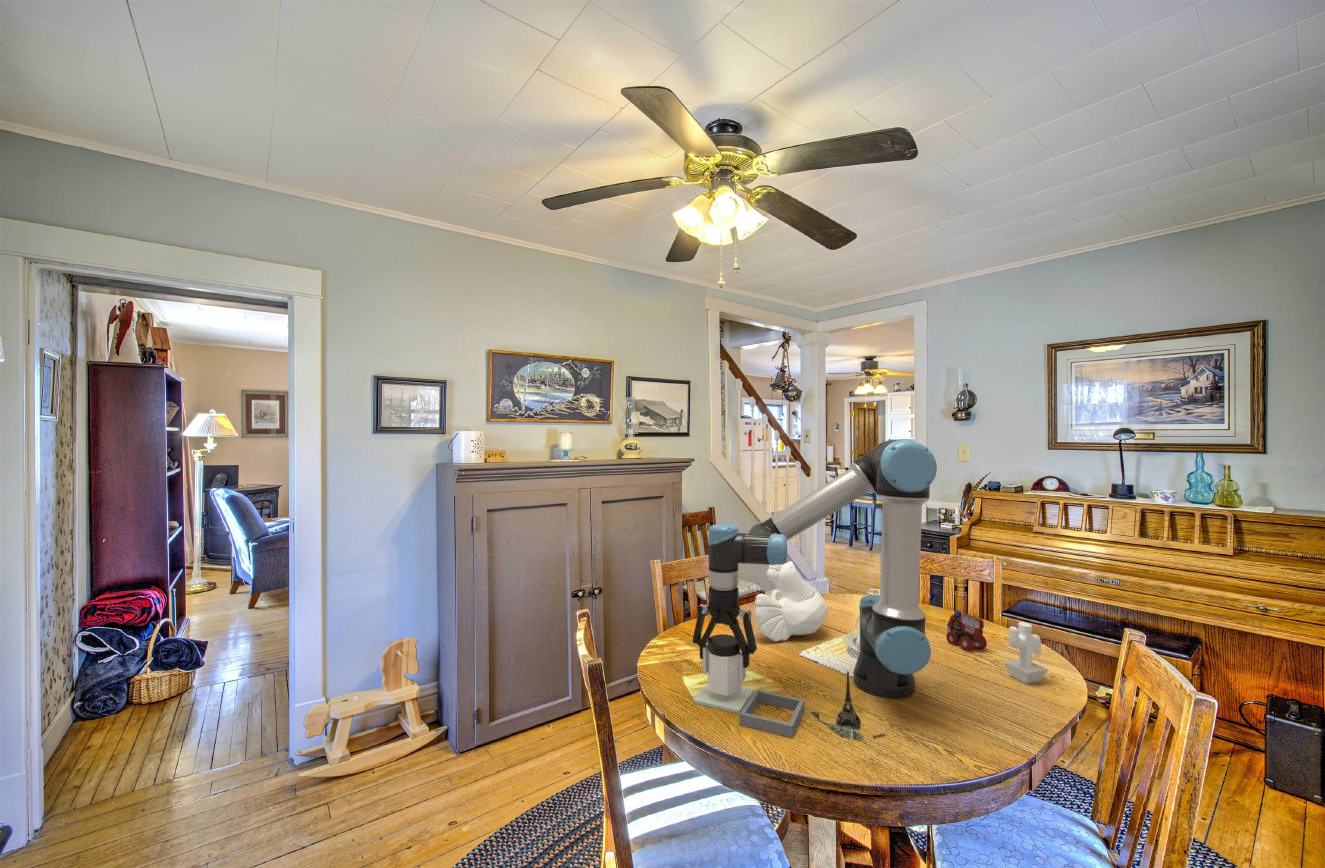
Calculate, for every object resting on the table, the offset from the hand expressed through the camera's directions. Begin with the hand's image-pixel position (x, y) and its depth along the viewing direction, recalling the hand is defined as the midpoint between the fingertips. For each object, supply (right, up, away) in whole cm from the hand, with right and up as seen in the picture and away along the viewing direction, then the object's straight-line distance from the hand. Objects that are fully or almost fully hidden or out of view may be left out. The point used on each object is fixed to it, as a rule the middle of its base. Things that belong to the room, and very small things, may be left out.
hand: (724, 675), depth 134 cm
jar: (0, -3, 0) cm, 3 cm away
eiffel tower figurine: (+26, -6, -12) cm, 30 cm away
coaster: (0, -5, 0) cm, 5 cm away
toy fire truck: (+79, -6, +32) cm, 86 cm away
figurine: (+82, -5, +9) cm, 83 cm away
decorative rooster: (+26, -6, +42) cm, 50 cm away
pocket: (+10, -5, -10) cm, 15 cm away
